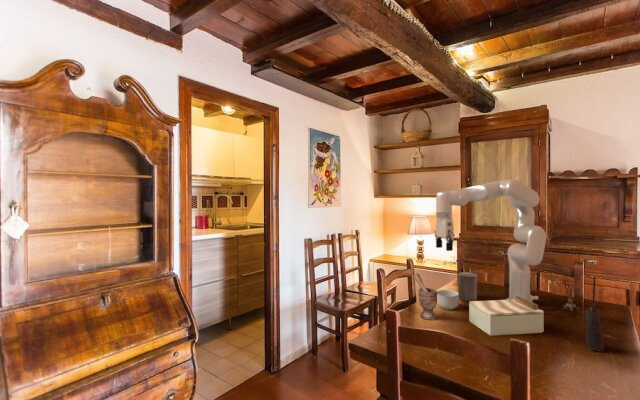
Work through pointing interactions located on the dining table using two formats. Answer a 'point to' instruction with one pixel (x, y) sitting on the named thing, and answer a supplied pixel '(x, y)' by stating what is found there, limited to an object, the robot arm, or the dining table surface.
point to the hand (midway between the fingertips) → (444, 249)
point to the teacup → (447, 299)
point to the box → (506, 322)
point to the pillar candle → (467, 286)
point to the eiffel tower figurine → (570, 301)
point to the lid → (507, 307)
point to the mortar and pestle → (426, 299)
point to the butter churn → (593, 327)
